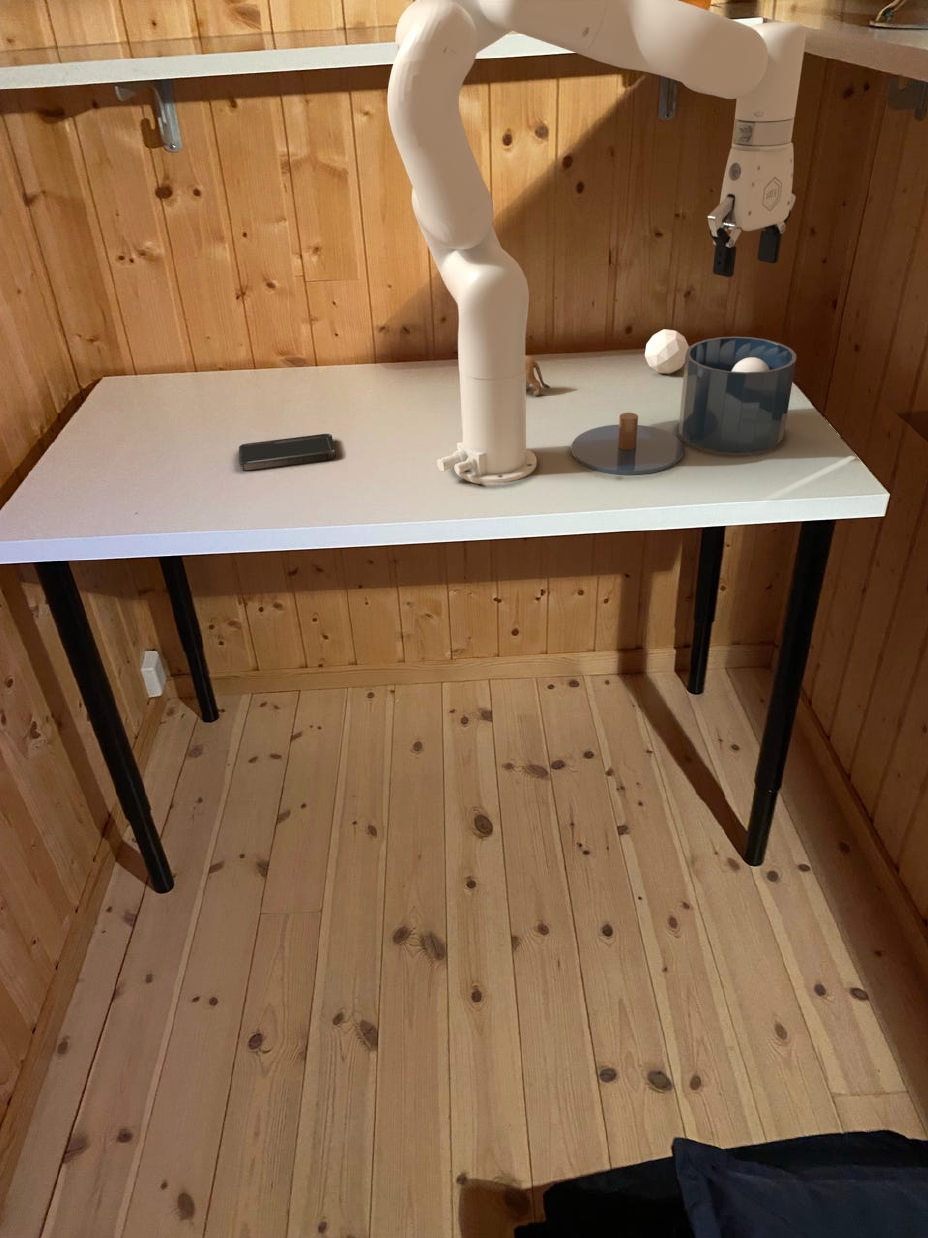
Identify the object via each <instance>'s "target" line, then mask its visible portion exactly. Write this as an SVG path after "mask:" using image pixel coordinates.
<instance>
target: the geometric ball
mask: <svg viewBox="0 0 928 1238" xmlns="http://www.w3.org/2000/svg"><path fill="white" fill-rule="evenodd" d="M689 347H690V345H689V343H688V341H687V340H686V337H685V336H684V335H683V334H681V333H680V332H679V331H677V330H673V329H665V328H664V329H661V330H660V331H658V332H657V333H655V334H653V335H652V336H651V337H650V339H649V340H648V341H647V343H646V345H645V352H644V358H645V360H646V363H647V364H648V366H649V368H651V369H652V370H654V371H655V372H657V373H659V374H666V375H670V374H673V373H675V372H676V371H678V370H680V369H681V368H682V367H684V365H685V356H686V352H687V349H688V348H689Z"/></svg>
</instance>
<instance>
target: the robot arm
mask: <svg viewBox="0 0 928 1238" xmlns="http://www.w3.org/2000/svg"><path fill="white" fill-rule="evenodd" d="M511 32H514V33H517V34H521V35H523V36H526V37H529V38H531V39H535V40H538V41H541V42H543V43H547V44H549V45H553V46H555V47H558V48H561V49H564V50H567V51H570V52H573V53H575V54H578V55H581V56H584V57H587V58H589V59H592V60H594V61H597V62H600V63H603V64H607V65H610V66H614V67H617V68H621V69H626V70H632V71H633V70H634V71H641V72H646V73H650V74H654V75H658V76H661V77H664V78H668V79H672V80H674V81H677V82H680V83H682V84H683V85H684V86H685V87H686V88H687V89H689V90H690V91H693V92H696V93H700V94H703V95H708V96H715V97H719V98H723V99H727V100H735V99H736V103H735V113H734V120H733V121H734V122H733V131H732V140H731V148H730V150H729V153H728V157H727V162H726V166H725V170H724V176H723V180H722V181H723V182H722V186H721V193H720V199H719V200H720V202H719V204H718V205H717V206H716V207H715V208H714V209H713V210H712V211H711V212H710V213H709V214H708V215H707V224H708V226H709V235H710V237H711V238H712V244H713V245H714V246H715V248H714V257H713V267H712V273H713V274H714V275H717V276H721V277H726V278H732V277H734V273H735V266H736V265H735V264H736V257H737V248H738V247H737V246H735V243H736V242H737V240H738V238H739V236H740V234H741V233H742V231H744V232H752V231H755V230H756V231H757V230H760V229H764V230H760V234H759V241H758V250H757V257H756V258H757V260H758V261H760V262H764V263H768V264H777V263H778V262H779V256H780V249H781V242H782V236H783V235H782V234H783V233H785V230H786V224H787V222H788V221H789V219H790V218H791V211H792V209H793V207H794V204H795V202H796V199H797V195H795V194H794V193H793V192H792V191H793V181H794V165H795V164H794V144H793V142H792V137H793V130H794V123H795V117H796V111H797V102H798V97H799V96H798V95H799V89H800V81H801V74H802V67H803V61H804V54H805V47H806V38H807V34H806V33H807V32H806V29H805V27H804V26H803V24H801V23H800V22H799V23H798V22H794V21H774V22H773V21H772V22H761V23H756V24H753V25H751V26H749V25H747V24H744V23H742V22H739V21H737V20H733V19H731V18H728V17H726V16H724V15H721V14H718V13H715V12H713V11H710V10H707V9H705V8H702V7H699V6H696V5H694V4H691V3H687V2H685V1H682V0H415V1H414V2H412V3H411V4H410V5H409V6H408V7H407V8H406V9H404V11H403V12H402V14H401V16H400V17H399V19H398V22H397V25H396V30H395V47H396V52H397V54H396V56H395V59H394V61H393V65H392V67H391V72H390V76H389V80H388V88H387V101H386V103H387V116H388V121H389V126H390V130H391V134H392V136H393V139H394V142H395V144H396V147H397V150H398V153H399V155H400V158H401V160H402V163H403V166H404V168H405V172H406V174H407V177H408V179H409V182H410V184H411V186H412V190H411V205H412V206H411V207H412V209H413V210H412V211H413V213H414V216H415V219H416V222H417V224H418V227H419V229H420V231H421V233H422V235H423V238H424V240H425V243H426V245H427V248H428V249H429V252H430V254H431V256H432V258H433V261H434V263H435V265H436V267H437V271H438V272H439V275H440V276H441V279H442V281H443V283H444V285H445V287H446V289H447V290H448V292H449V294H450V295H451V297H452V298H453V300H454V301H455V303H456V304H457V309H458V310H457V311H458V331H457V354H458V355H457V356H458V357H457V358H458V372H459V391H460V392H459V395H460V410H461V411H460V413H461V429H462V430H461V431H462V441H459V442H457V443H456V448H457V450H455V451H453V453H452V454H451V455H446V456H444V457H441V458H438V459H437V460H436V466H437V469H438V471H440V472H442V473H443V472H445V471H448V470H451V469H453V468H454V472H455V473H456V475H457V476H458V477H459V478H461V479H463V480H465V481H466V482H469V483H473V484H478V485H483V483H484V484H503V483H509V482H514V481H517V480H521V479H524V478H525V477H527V476H528V475H530V474H532V473H533V472H534V471H535V469H536V467H537V464H538V462H537V461H538V460H537V456H536V454H535V453H533V451H531V450H530V449H528V448H527V389H526V366H525V355H526V337H527V323H528V315H529V306H530V290H529V285H528V280H527V277H526V275H525V273H524V271H523V269H522V267H521V265H520V264H519V263H518V262H517V261H516V259H515V258H513V257H512V256H511V254H509V253H508V252H507V250H504V249H503V248H502V246H501V243H500V241H499V238H498V236H497V233H496V231H495V228H494V226H493V224H494V223H493V221H494V217H495V216H494V214H495V213H494V211H495V210H494V204H493V203H494V202H493V199H492V195H491V193H490V191H489V188H488V186H487V184H486V182H485V179H484V177H483V175H482V173H481V170H480V168H479V165H478V163H477V162H478V161H476V157H475V155H474V153H473V150H472V147H471V145H470V142H469V138H468V136H467V133H466V130H465V127H464V123H463V120H462V117H461V112H460V94H461V90H462V86H463V83H464V81H465V79H466V78H467V76H468V74H469V73H470V70H472V67H473V65H474V63H475V61H476V58H477V54H478V53H480V52H482V51H483V50H484V49H486V48H488V47H491V45H493V44H495V43H496V42H497V41H499V40H500V39H502V38H503V37H505V36H506V35H508V34H509V33H511ZM729 230H730V233H729V234H728V231H729Z"/></svg>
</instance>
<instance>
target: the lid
mask: <svg viewBox="0 0 928 1238" xmlns="http://www.w3.org/2000/svg"><path fill="white" fill-rule="evenodd" d="M571 454H572V457H573V458H574V459H575V460H576V461H577V462H578V463H580V464H581V465H582V466H584V467H586V468H588V469H591V470H594V471H597V472H601V473H606V474H611V475H621V476H622V475H623V476H638V475H647V474H653V473H657V472H661V471H665V470H667V469H669V468H671V467H673V466H675V465H677V463H679V462H680V460H681V459H682V458H683V455H684V445H683V442H682V441H681V440H680V439H679V438H678V437H677V436H675V435H674V434H672V433H670V432H668V431H666V430H663V429H660V428H657V427H652V426H650V425H649V426H648V425H642V424H639V415H638V414H637V413H636V412H635V413H634V412H623V413H621V414H620V415H619V418H618V424H609V425H603V426H597V427H594V428H591V429H588V430H586V431H583V432H582V433H580V434H578V435H577V436H576V437H575V438H574V439H573V441H572V443H571Z"/></svg>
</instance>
